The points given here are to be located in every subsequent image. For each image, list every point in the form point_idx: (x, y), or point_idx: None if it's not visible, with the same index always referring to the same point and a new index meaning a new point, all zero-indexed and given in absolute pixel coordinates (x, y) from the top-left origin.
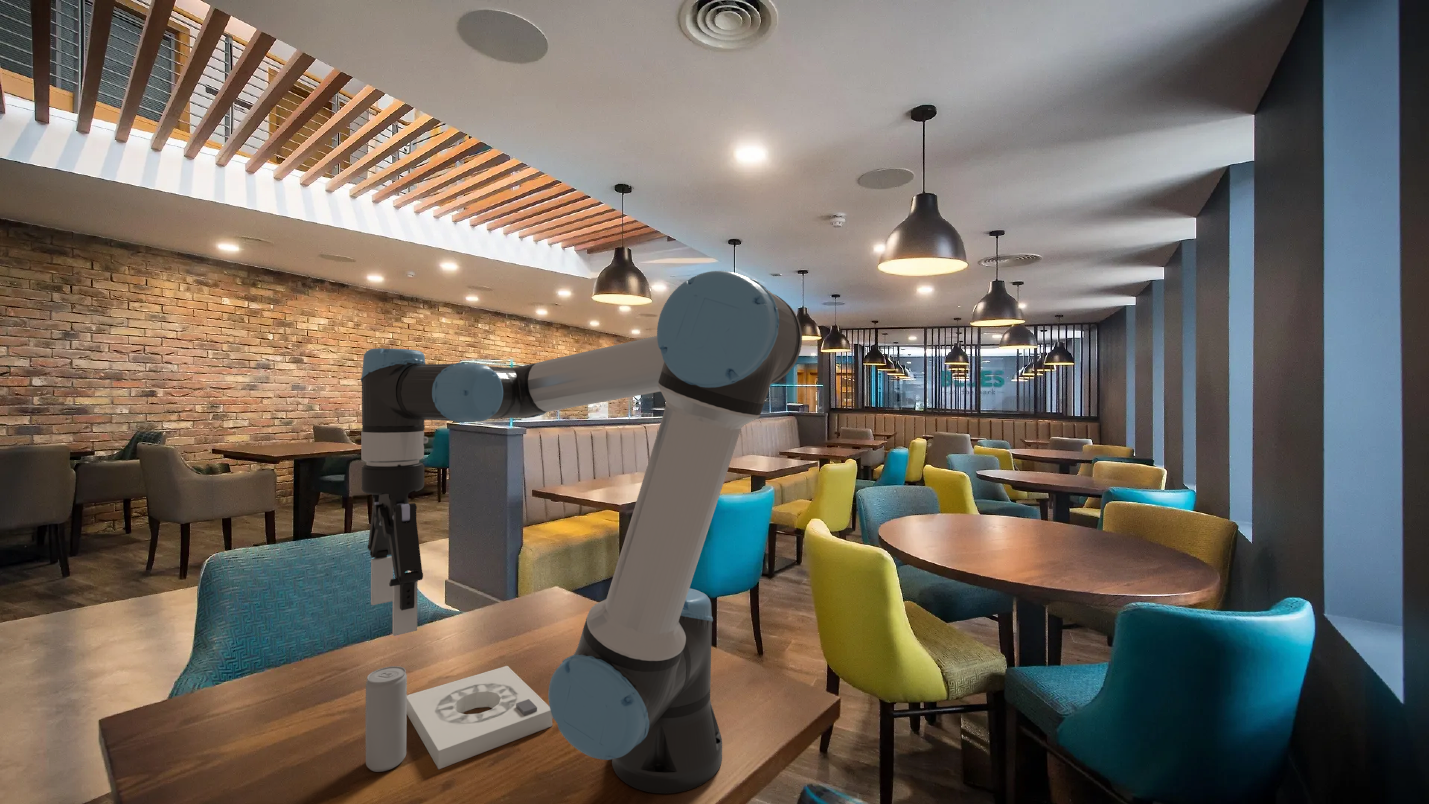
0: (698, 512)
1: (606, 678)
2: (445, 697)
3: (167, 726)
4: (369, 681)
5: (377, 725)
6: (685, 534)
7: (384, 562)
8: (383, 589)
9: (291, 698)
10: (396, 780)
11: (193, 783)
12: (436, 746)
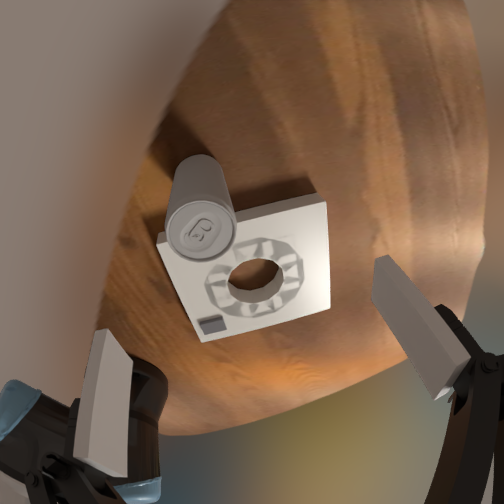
0: None
1: None
2: (291, 248)
3: None
4: (180, 206)
5: (171, 190)
6: None
7: (436, 376)
8: (392, 308)
9: (421, 71)
10: (154, 190)
11: None
12: (167, 242)
